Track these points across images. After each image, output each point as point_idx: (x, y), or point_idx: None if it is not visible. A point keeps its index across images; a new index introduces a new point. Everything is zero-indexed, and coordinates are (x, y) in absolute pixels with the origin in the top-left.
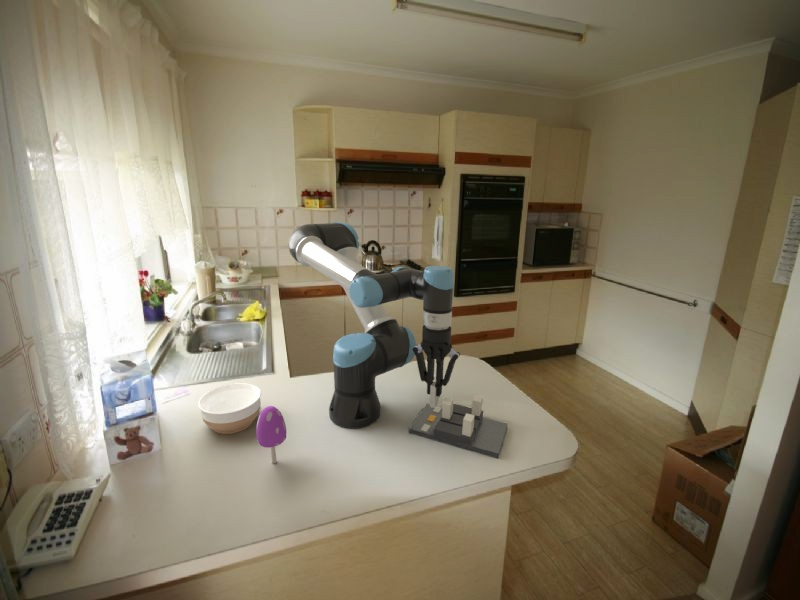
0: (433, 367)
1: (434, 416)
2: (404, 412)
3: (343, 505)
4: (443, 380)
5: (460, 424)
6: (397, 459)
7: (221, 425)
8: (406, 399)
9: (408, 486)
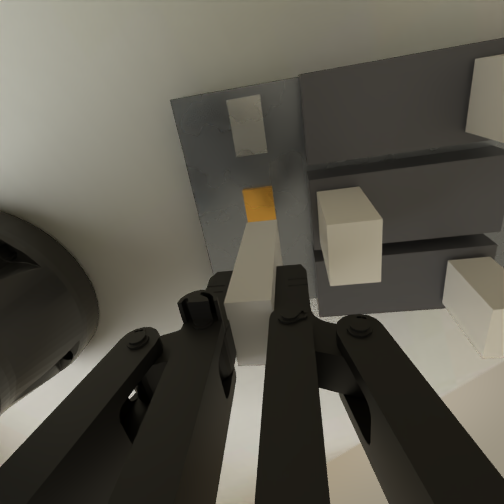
0: (193, 479)
1: (265, 195)
2: (127, 195)
3: (246, 491)
4: (355, 423)
5: (418, 239)
6: (262, 387)
7: None
8: (53, 89)
9: (330, 434)
